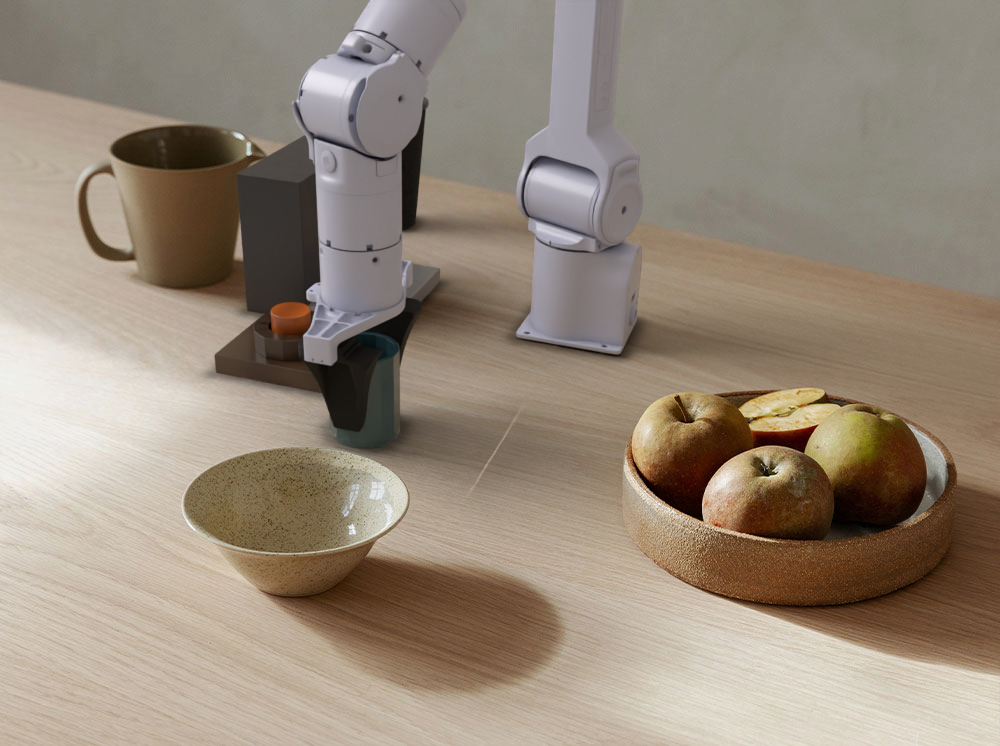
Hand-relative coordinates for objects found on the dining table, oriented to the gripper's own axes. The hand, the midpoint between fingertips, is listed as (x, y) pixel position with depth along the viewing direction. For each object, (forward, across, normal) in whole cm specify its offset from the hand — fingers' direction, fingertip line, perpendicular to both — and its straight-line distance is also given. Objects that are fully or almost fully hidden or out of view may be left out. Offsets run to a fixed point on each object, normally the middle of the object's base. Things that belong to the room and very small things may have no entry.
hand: (364, 408), depth 82 cm
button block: (+2, -8, -10) cm, 13 cm away
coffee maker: (+2, -22, -11) cm, 25 cm away
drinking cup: (+2, -42, -15) cm, 45 cm away
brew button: (-1, -8, -10) cm, 13 cm away
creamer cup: (+2, 0, 0) cm, 2 cm away
